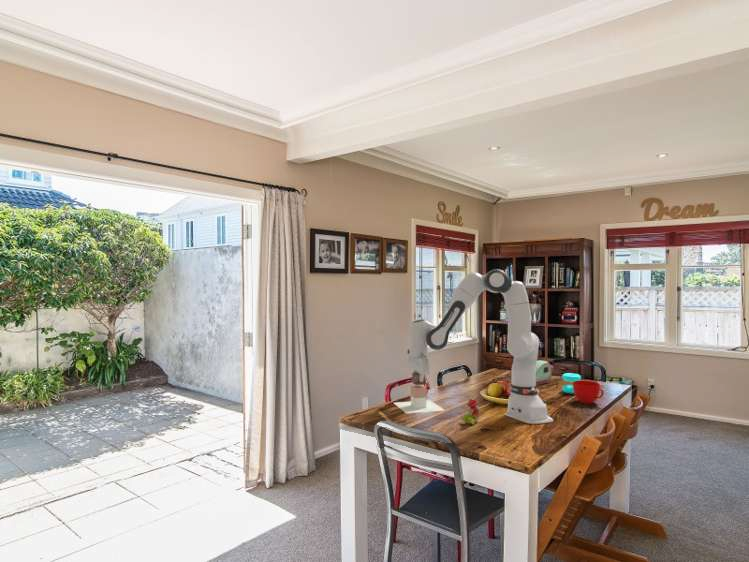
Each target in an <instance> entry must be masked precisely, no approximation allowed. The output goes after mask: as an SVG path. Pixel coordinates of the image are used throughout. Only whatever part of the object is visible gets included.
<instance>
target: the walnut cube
mask: <svg viewBox="0 0 749 562" xmlns="http://www.w3.org/2000/svg"><path fill="white" fill-rule="evenodd" d="M411 373H412V374H411V377H412V378H411V383H412V385H423V386H425V385H426V374H424V378H423V382H420V381H419V378H420V375H419V372H418V373H414V372H411Z"/></svg>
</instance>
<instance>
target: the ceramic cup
mask: <svg viewBox="0 0 749 562" xmlns="http://www.w3.org/2000/svg"><path fill="white" fill-rule="evenodd" d="M572 385H573V390H574V396H575V398H576V399H577V400H578V401H579V403H581V404H587V405H588V404H590V405H591V404H592V405H593V403H594V402H595V401H596V400H598V399H601V398H602V397H603V396H604V390H603V389H602V388H601V384H600V383H599V382H596V381H592V380H580V381H574V382H572Z"/></svg>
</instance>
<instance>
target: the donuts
mask: <svg viewBox="0 0 749 562" xmlns="http://www.w3.org/2000/svg"><path fill="white" fill-rule="evenodd" d="M561 378H562V379H563V381H565V382H569V383H570V382H572V383H573V382H574V381H582V380H581V379H582V376H581V375H580V374H578V373H573V372H572V373H570V372H568V373H564V374H562V376H561ZM561 390H562V392H563V393H567V394H572V395H573V394H574V390H573V384H565V385H563V386H562V387H561ZM574 395H575V394H574Z"/></svg>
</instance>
